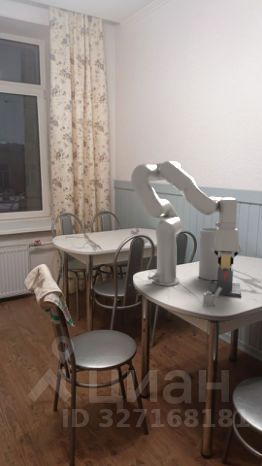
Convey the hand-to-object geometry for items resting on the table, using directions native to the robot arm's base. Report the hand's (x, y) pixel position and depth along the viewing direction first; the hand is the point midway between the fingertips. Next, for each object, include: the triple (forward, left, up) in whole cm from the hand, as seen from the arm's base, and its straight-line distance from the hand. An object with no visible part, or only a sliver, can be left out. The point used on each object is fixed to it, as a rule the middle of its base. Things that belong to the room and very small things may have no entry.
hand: (225, 265), depth 152 cm
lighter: (-15, -12, -12) cm, 23 cm away
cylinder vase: (+6, +19, -12) cm, 23 cm away
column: (0, 0, -10) cm, 10 cm away
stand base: (0, 0, -12) cm, 12 cm away
